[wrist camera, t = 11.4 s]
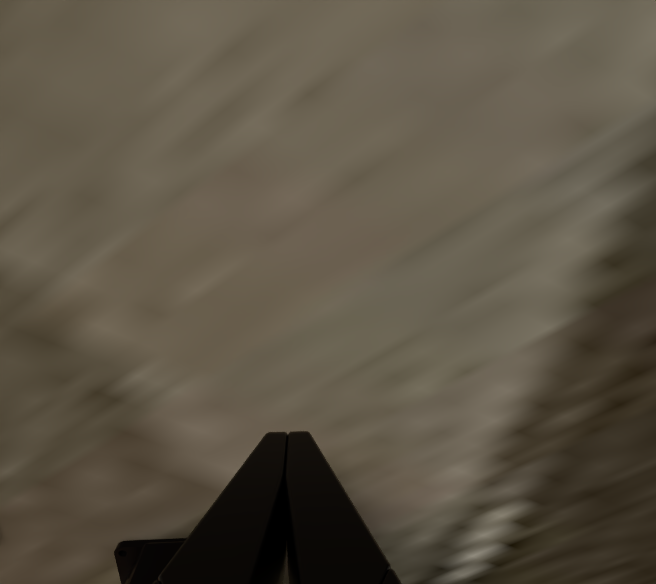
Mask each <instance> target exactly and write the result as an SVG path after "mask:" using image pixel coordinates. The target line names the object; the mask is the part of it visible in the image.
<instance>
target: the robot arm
mask: <svg viewBox="0 0 656 584" xmlns="http://www.w3.org/2000/svg"><path fill="white" fill-rule="evenodd" d="M286 554H287V557H288V573H289V584H402V583H401V581H400V580H399V578H398V577H397V575H396V573H395V572H394V570H393V569H390V564H389V562H388V561H387V559H386V557H385V556H384V554H383V552H382V551H381V549H380V547H379V546H378V544H377V543H376V541H375V539H374V538H373V536H372V534H371V533H370V531H369V529H368V528H367V526H366V524H365V523H364V521H363V520H362V518H361V516H360V515H359V513H358V511H357V510H356V508H355V506H354V505H353V503H352V501H351V500H350V498H349V497H348V495H347V493H346V492H345V490H344V488H343V487H342V485H341V483H340V482H339V480H338V478H337V477H336V475H335V474H334V472H333V470H332V469H331V467H330V465H329V464H328V462H327V460H326V459H325V457H324V455H323V454H322V452H321V451H320V449H319V447H318V446H317V444H316V442H315V441H314V439H313V437H312V436H311V434H310V433H309V432H308V431H296V432H290V433H289V434H287V433H286V432H269V433H267V434H266V435H265V436H264V437H263V438H262V440H261V441H260V442H259V444H258V445H257V446H256V448H255V449H254V450H253V452H252V453H251V454H250V456H249V457H248V458H247V460H246V461H245V462H244V464H243V465H242V466H241V468H240V469H239V470H238V472H237V473H236V474H235V476H234V477H233V478H232V480H231V481H230V482H229V484H228V485H227V486H226V488H225V489H224V490H223V492H222V493H221V494H220V495H219V497H218V498H217V499H216V501H215V502H214V503H213V505H212V506H211V507H210V509H209V510H208V511H207V513H206V514H205V515H204V517H203V518H202V519H201V521H200V522H199V523H198V525H197V526H196V527H195V529H194V530H193V531H192V533H191V534H190V535H189V537H188V538H187V539H164V540H141V541H123V542H120V543H119V544H118V545H117V547H116V549H115V551H114V555H115V559H116V563H117V567H118V572H119V576H120V580H121V584H283V580H284V572H285V564H286Z"/></svg>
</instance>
